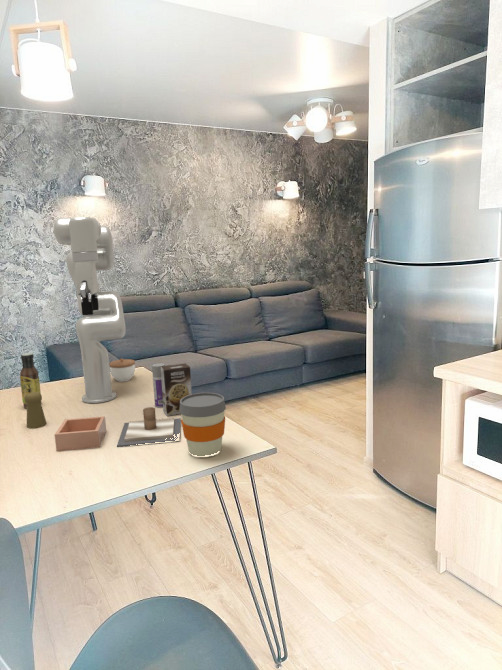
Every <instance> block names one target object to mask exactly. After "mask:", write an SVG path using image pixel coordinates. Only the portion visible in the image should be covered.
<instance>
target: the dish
mask: <svg viewBox="0 0 502 670" xmlns="http://www.w3.org/2000/svg"><path fill="white" fill-rule="evenodd" d="M106 433H107V423H106V416H104V415H103V416H93V417H91V416H90V417H80V418H79V417H78V418H68V419H66V418H65V419H64V420H63V422H62V423H61V424H60V426H59V427H58V429H57V430H56V431H55V434H54V441H55V450H56V452H61V451H69V450H70V451H72V450H83V449H84V450H85V449H93V448H94V449H96V448H100V447H101V445H102V443H103V441H104V438H105V436H106Z"/></svg>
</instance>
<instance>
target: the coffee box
mask: <svg viewBox="0 0 502 670" xmlns="http://www.w3.org/2000/svg"><path fill="white" fill-rule="evenodd" d="M191 379H192V377H191V366H189V365H188V364H187V363H178V364H171V365H170V364H168V365H165V366H161V380H162V396H163V407H162V410H163V412H164V414H165V415H166V417H172V416H177V415H176V414H178V415H181V413H180V400H181V399H182V398H183V397H185V396H188V395H191V394H193V393H192V380H191ZM171 415H172V416H171Z"/></svg>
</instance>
